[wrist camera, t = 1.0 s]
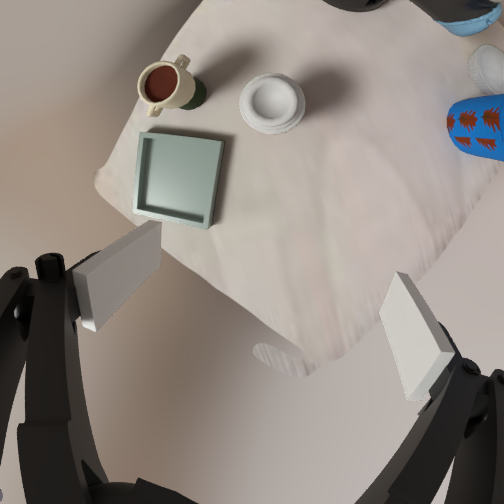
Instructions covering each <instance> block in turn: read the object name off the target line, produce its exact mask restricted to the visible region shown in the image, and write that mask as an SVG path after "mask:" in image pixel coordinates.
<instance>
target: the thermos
mask: <svg viewBox="0 0 504 504" xmlns="http://www.w3.org/2000/svg"><path fill="white" fill-rule="evenodd" d="M447 128H448V132H449V135H450V137H451V139H452V141H453V143H454V144H455V145H456V146H457V147H458V148H459V149H460V150H461V151H463V152H465V153H468V154H471V155H475V156H479V157H485V158H490V159H495V160H500V161H504V94H498V95H490V96H483V97H477V98H470V99H467V100H463V101H460V102H457V103H455V104H453V106H452V107H451V108H450V109H449V113H448V116H447Z"/></svg>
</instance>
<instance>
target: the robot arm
mask: <svg viewBox="0 0 504 504" xmlns="http://www.w3.org/2000/svg"><path fill="white" fill-rule="evenodd" d="M323 1H324V2H326V3H328V4H330V5H332V6H334V7H336V8H339V9H342V10H346V11H352V12H366V11H371V10H374V9H376V8H378V7H379V6H381V5H382V4H383V2H384V1H385V0H323ZM410 1H411V2H413V3H414V4H415V5H417V6H418V7H419V8H421V9H422V10H423V11H424V12H426V13H427V14H428V15H429V16H431V17H432V19H433V20H434V21H436V22H437V23H439V24H441V25H442V26H443V27H444V28H446V29H447V30H448V31H449V32H451V33H452V34H454V35H457V36H462V37H464V36H471V35H474V34H476V33H479V32H481V31H483V30H485V29H486V28H488V27H489V24H492V23H494V22H495V21H496V20H497V19H498V18H499V17H500V15H501V13H502V6H501V4H500V2H501V1H502V0H410ZM161 226H162V222H158V221H153V220H149V221H147V222H146V223H144V224H142V225H141V226H139V227H137V228H136V229H134V230H133V231H131V232H129V233H128V234H126V235H125V236H123V237H121V238H120V239H118V240H117V241H115V242H114V243H112V244H111V245H109V246H107V247H106V248H104V249H103V250H100V251H97V252H94V253H92V254H90V255H88V256H87V257H86V258H85V259H82V260H81V261H80V262H78V263H77V264H75V265H74V266H72V267H71V268H69V269H68V270H66V271H65V265H64V258H63V256H62V255H61V254H59V253H47V254H44V255H41V256H40V257H38V258H37V259H36V260H35V265H36V270H37V275H38V279H33V278H29V273H28V269H27V268H25V267H15V268H14V267H13V268H11V269H10V270H8V271H7V272H6V273H5V274H4V275H3V276H2V278H1V279H0V465H1V459H2V454H3V449H4V443H5V437H6V432H7V427H8V422H9V418H10V413H11V409H12V405H13V401H14V397H15V394H16V390H17V387H18V383H19V380H20V377H21V373H22V371H23V368H24V365H25V361H26V373H25V422H24V423H19V425H18V427H17V442H18V454H19V462H20V470H21V477H22V483H23V488H24V493H25V498H26V503H27V504H198V503H196V502H194V501H192V500H190V499H188V498H187V497H185V496H183V495H181V494H179V493H178V492H176V491H173V490H170V489H167V488H164V487H161V486H158V485H156V484H153V483H151V482H148V481H145V480H143V479H141V478H138V479H137V481H136V483H135V484H134V483H125V482H110V483H109V481H108V478H107V476H106V474H105V472H104V469H103V468H102V466H101V463H100V460H99V458H98V454H97V450H96V446H95V443H94V439H93V435H92V430H91V426H90V422H89V417H88V412H87V406H86V401H85V395H84V389H83V383H82V376H81V367H80V359H79V349H78V336H77V325H76V321H75V320H76V319H77V318H78V317H79V316H81V320H82V324H83V327H85V328H88V329H90V330H92V331H95V332H97V331H98V330H99V329H100V328H101V327H102V326H103V324H104V323H105V322H106V321H107V320H108V319H109V318H110V317H111V316H112V315H113V314H114V313H115V312H116V311H117V310H118V309H119V307H121V306H122V304H123V303H124V302H125V301H126V300H127V299H128V298H129V297H130V296H131V295H132V294H133V293H134V292H135V291H136V290H137V289H138V288H139V287H140V286H141V285H142V284H143V283H144V282H145V281H146V280H147V279H148V278H149V277H150V276H151V275H152V274H153V273H154V272H155V271H156V270H157V269H158V268H159V267H160V259H161V258H160V257H161V256H160V255H161ZM379 314H380V317H381V320H382V323H383V325H384V328H385V331H386V334H387V337H388V340H389V343H390V346H391V349H392V352H393V355H394V358H395V361H396V364H397V367H398V371H399V374H400V377H401V381H402V384H403V388H404V391H405V395H406V399H407V400H408V401H421V400H422V399H423V398H424V397H425V395H426V394H427V393H428V391H429V393H430V396H431V398H430V400H429V401H428V402H427V403H426V405H425V406H424V407H423V408H422V410H420V412H419V413H418V415H420V416H419V417H418V419H417V421H416V422H415V424H414V426H413V427H412V429H411V430H410V432H409V434H408V435H407V437H406V438H405V440H404V441H403V443H402V444H401V446H400V447H399V449H398V450H397V451H396V453H395V454H394V456H393V457H392V459H391V460H390V461H389V462H388V464H387V465H386V467H385V468H384V469H383V470H382V472H381V473H380V474H379V476H378V477H377V478H376V479H375V481H374V482H373V483H372V484H371V485H370V487H369V488H368V489H367V490H366V491H365V492H364V494H363V495H362V496H361V497H360V498H359V499H358V500H357V501H356V503H355V504H431V502H432V500H433V499H434V497H435V495H436V493H437V491H438V489H439V487H440V485H441V483H442V482H443V480H444V478H445V476H446V474H447V472H448V469H449V467H450V465H451V463H452V461H453V458H454V456H455V458H454V464H453V469H452V474H451V479H450V483H449V487H448V491H447V495H446V499H445V502H444V504H504V371H503V370H500V369H495V370H494V372H493V373H492V374H491V376H490V377H488V376H484V375H481V371H480V369H479V367H478V366H477V364H476V363H474V362H473V361H472V360H469V359H468V358H462V356H461V354H460V352H459V351H458V349H457V347H456V345H455V343H454V342H453V340H452V338H451V337H450V335H449V333H448V331H447V330H446V328H445V327H444V326H443V325H442V324H441V323H440V322H438V321H437V320H436V318H435V316H434V315H433V313H432V311H431V310H430V308H429V306H428V305H427V303H426V302H425V300H424V299H423V297H422V295H421V294H420V292H419V291H418V289H417V288H416V286H415V285H414V283H413V282H412V280H411V279H410V277H409V276H408V274H405V273H400V272H396V273H395V275H394V278H393V280H392V283H391V285H390V288H389V290H388V293H387V295H386V298H385V300H384V303H383V305H382V307H381V310H380V312H379ZM14 315H15V316H14ZM485 419H486V420H485ZM2 498H3V494H2V491H1V489H0V501H1V500H2Z"/></svg>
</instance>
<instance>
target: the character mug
mask: <svg viewBox="0 0 504 504" xmlns="http://www.w3.org/2000/svg"><path fill="white" fill-rule="evenodd" d="M182 62H183V63H182ZM181 63H182V65H181ZM189 63H190V59H189V58H188V57H187V56H185V55H179V57H178V58H177V60H176V61H175V63H172V62H168V61H159V62H155V63H153V64H151V65H150V66H148V67H147V68H146V69H145V70H144V71H143V72H142V74H141V75H140V78H139V81H138V93H139V95H140V98H141V99H142V100H143V101H144V102H145V103H146V104H148V105H150V107H149V109H148V111H147V116H149V117H158V116H159V115H160V113H161V111H162V109H163V108H168V109H174V108H180V109H184V110H191V109H195V108H197V107H198V106H199V105H201V104H202V102H203V101H204V99H205V96H206V89H205V87H204V84H203V83H202V82H201V81H200V80H198V79H196V78H193V77H192V75H191V73H189V72H188V71H187V70H185V69H186V68H187V66H188V65H189ZM180 65H181V67H180ZM156 106H157V109H156V110H155V108H156ZM154 110H155V111H154Z"/></svg>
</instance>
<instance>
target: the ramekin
mask: <svg viewBox="0 0 504 504" xmlns="http://www.w3.org/2000/svg"><path fill="white" fill-rule="evenodd" d="M468 67H469V72H470V75H471V77H472V79H473V81H474V83H475V84H476V85H477V87H478V88H479V89H480V90H481V91H482V92H484V93H485V94H487V95H498V94H504V54H503V53H502V52H501V51H500V50H498V49H497V48H496V47H494V46H492V45H489V44H484V45H481V46H479V47H478V48H477V50H476V51H474V52H473V53H472V54H471V55H470V57H469V60H468Z"/></svg>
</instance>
